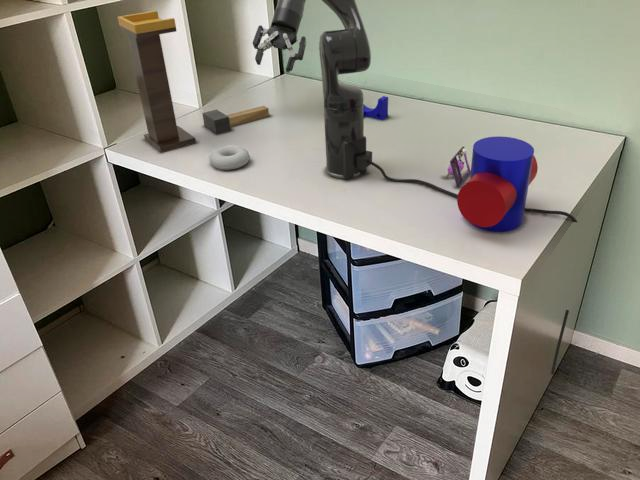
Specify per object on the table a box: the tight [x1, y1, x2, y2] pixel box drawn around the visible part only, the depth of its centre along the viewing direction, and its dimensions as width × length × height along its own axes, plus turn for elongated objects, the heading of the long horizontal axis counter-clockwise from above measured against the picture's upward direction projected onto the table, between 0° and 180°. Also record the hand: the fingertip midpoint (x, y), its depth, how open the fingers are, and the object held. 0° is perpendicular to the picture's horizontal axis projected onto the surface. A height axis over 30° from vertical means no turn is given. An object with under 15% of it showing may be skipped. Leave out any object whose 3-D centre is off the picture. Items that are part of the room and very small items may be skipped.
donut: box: [208, 144, 251, 171], centre depth 157 cm, size 10×4×10 cm
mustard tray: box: [117, 10, 177, 34], centre depth 152 cm, size 11×10×2 cm
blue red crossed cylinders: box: [456, 135, 539, 233], centre depth 129 cm, size 20×12×16 cm, turn 149°
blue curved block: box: [364, 95, 389, 121], centre depth 182 cm, size 12×4×6 cm, turn 57°
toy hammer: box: [202, 105, 270, 135], centre depth 179 cm, size 8×18×4 cm, turn 128°
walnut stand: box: [118, 24, 197, 153], centre depth 161 cm, size 11×10×30 cm
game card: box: [444, 146, 471, 188], centre depth 148 cm, size 7×5×9 cm
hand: (272, 67), depth 173 cm, fingers open, 8 cm apart
